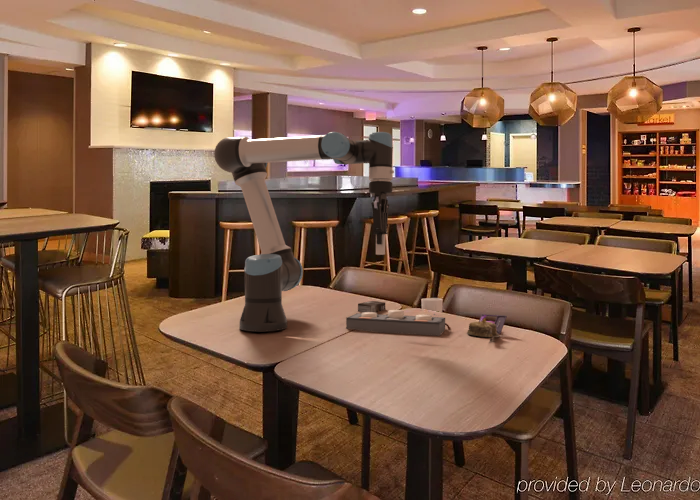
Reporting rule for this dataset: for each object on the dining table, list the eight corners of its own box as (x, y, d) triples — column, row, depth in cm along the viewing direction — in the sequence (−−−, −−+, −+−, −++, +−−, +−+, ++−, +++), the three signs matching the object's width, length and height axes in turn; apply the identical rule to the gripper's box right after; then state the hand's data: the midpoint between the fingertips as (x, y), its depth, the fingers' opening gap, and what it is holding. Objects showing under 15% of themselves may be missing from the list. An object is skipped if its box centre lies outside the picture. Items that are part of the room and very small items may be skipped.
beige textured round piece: (464, 337, 167) (464, 319, 167) (469, 332, 176) (469, 315, 176) (498, 339, 163) (498, 321, 163) (501, 334, 173) (501, 317, 173)
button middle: (386, 321, 177) (386, 311, 177) (390, 319, 182) (390, 309, 181) (401, 322, 175) (401, 312, 175) (405, 320, 180) (405, 310, 180)
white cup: (420, 324, 210) (420, 298, 210) (441, 324, 210) (441, 298, 210) (422, 327, 203) (422, 300, 202) (444, 327, 202) (443, 300, 202)
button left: (359, 323, 180) (359, 313, 180) (364, 321, 184) (364, 311, 184) (374, 324, 178) (374, 314, 178) (378, 322, 183) (378, 312, 183)
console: (346, 330, 178) (346, 317, 178) (356, 325, 188) (356, 312, 188) (439, 335, 168) (439, 322, 168) (445, 329, 179) (445, 317, 179)
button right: (414, 326, 174) (414, 316, 174) (417, 324, 179) (417, 314, 179) (429, 327, 172) (429, 317, 172) (432, 325, 177) (432, 315, 177)
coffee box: (371, 343, 207) (372, 300, 206) (386, 345, 203) (386, 302, 202) (356, 347, 200) (357, 303, 199) (371, 350, 196) (371, 304, 195)
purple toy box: (498, 332, 170) (473, 330, 177) (505, 341, 173) (480, 339, 180) (505, 314, 174) (480, 312, 180) (512, 323, 176) (487, 322, 183)
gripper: (386, 179, 171) (386, 255, 171) (396, 182, 183) (396, 254, 184) (363, 179, 173) (363, 255, 174) (375, 183, 186) (374, 253, 186)
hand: (380, 254), depth 179 cm, fingers closed
